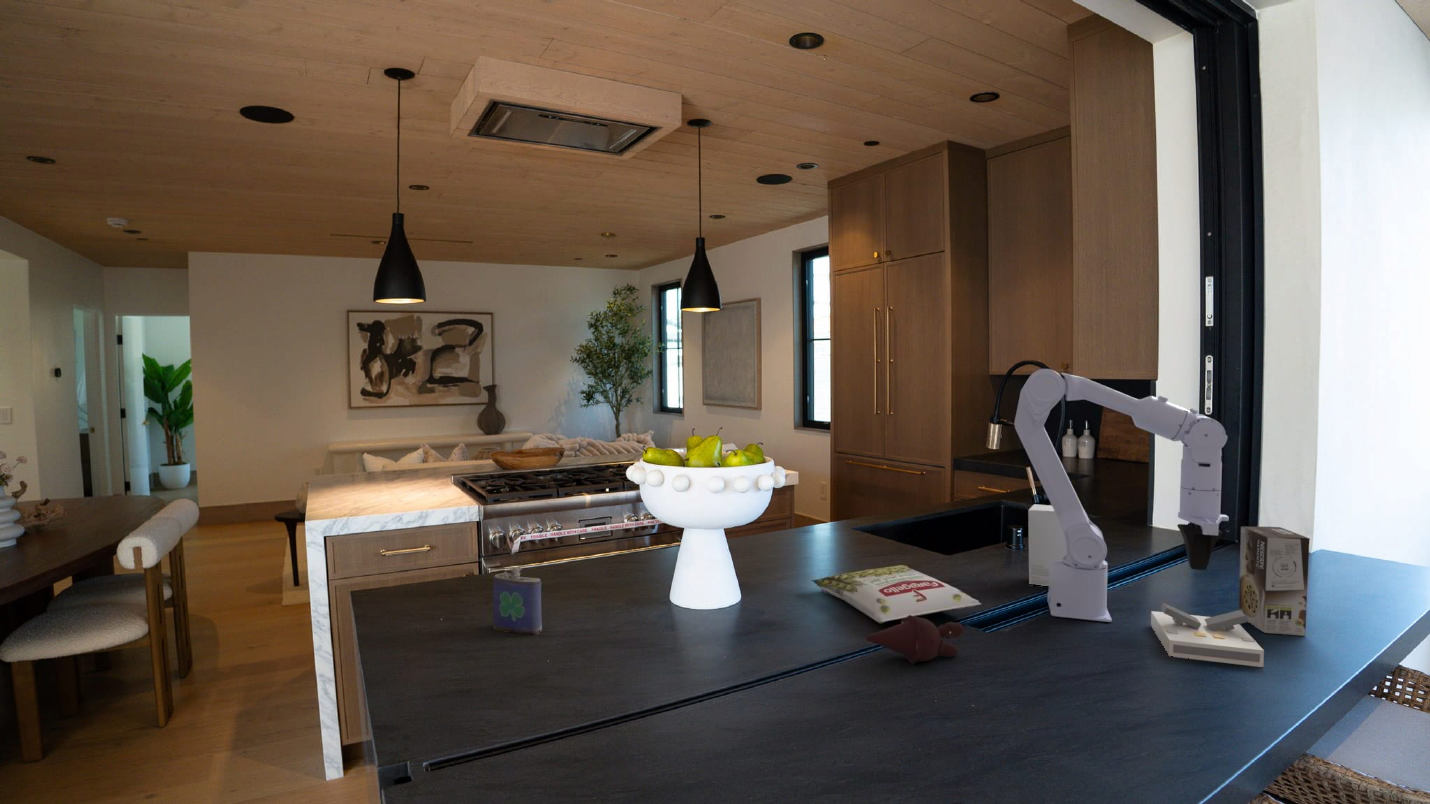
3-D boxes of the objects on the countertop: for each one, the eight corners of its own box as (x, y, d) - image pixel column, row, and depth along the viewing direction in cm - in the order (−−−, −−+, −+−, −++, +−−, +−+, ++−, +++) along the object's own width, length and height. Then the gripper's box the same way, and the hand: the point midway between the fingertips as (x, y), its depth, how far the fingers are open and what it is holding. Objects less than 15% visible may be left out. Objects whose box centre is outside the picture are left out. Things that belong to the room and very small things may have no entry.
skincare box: (1076, 583, 151) (1078, 506, 150) (1072, 592, 146) (1074, 512, 145) (1032, 577, 156) (1033, 502, 155) (1026, 585, 150) (1027, 508, 149)
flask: (545, 630, 126) (543, 567, 125) (534, 636, 123) (533, 572, 122) (499, 624, 129) (498, 562, 128) (488, 629, 126) (486, 566, 126)
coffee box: (1307, 636, 122) (1311, 538, 121) (1263, 633, 123) (1266, 536, 122) (1277, 617, 131) (1281, 526, 130) (1236, 615, 132) (1239, 524, 131)
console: (1169, 656, 114) (1169, 639, 114) (1150, 625, 127) (1151, 610, 127) (1263, 667, 110) (1264, 649, 109) (1234, 634, 123) (1235, 618, 123)
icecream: (878, 632, 107) (976, 635, 109) (862, 603, 114) (955, 607, 116) (869, 673, 109) (966, 675, 111) (854, 642, 116) (945, 645, 118)
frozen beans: (901, 552, 153) (984, 586, 129) (901, 580, 153) (985, 619, 130) (809, 565, 146) (880, 604, 122) (810, 595, 146) (881, 639, 123)
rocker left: (1161, 617, 120) (1166, 607, 119) (1158, 611, 122) (1163, 602, 122) (1196, 633, 118) (1201, 624, 118) (1191, 627, 121) (1196, 618, 121)
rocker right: (1213, 635, 117) (1208, 624, 118) (1208, 629, 120) (1204, 619, 120) (1250, 626, 116) (1245, 615, 116) (1244, 620, 118) (1240, 609, 118)
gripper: (1242, 497, 117) (1239, 583, 118) (1216, 482, 131) (1213, 559, 131) (1189, 494, 119) (1187, 578, 120) (1169, 480, 133) (1167, 556, 134)
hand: (1197, 568), depth 126 cm, fingers closed
